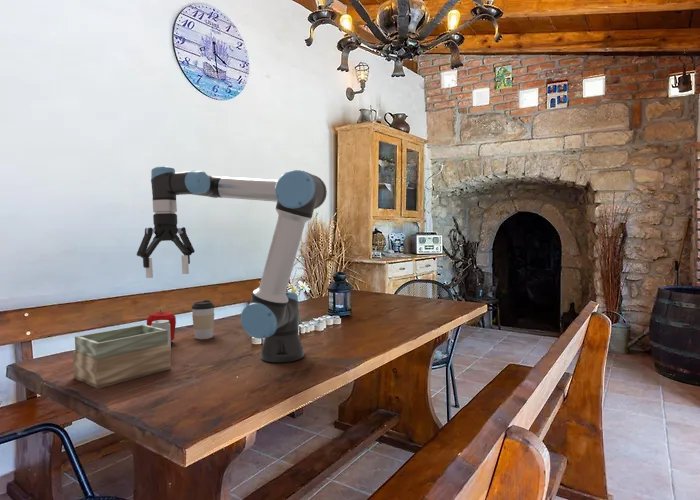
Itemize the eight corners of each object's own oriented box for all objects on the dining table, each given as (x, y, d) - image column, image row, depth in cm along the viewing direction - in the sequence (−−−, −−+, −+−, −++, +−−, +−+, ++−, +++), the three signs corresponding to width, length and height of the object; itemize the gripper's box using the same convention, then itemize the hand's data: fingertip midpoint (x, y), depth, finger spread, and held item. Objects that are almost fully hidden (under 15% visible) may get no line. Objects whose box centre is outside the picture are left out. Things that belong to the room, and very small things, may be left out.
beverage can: (155, 352, 162) (154, 319, 161) (173, 352, 162) (172, 319, 162) (148, 357, 155) (147, 323, 155) (167, 356, 156) (166, 322, 156)
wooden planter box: (171, 369, 142) (169, 329, 141) (97, 388, 125) (95, 344, 124) (145, 360, 152) (144, 324, 151) (73, 377, 134) (72, 336, 134)
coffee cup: (208, 341, 178) (207, 303, 178) (187, 340, 180) (186, 303, 179) (219, 335, 187) (218, 300, 186) (199, 335, 189) (198, 299, 188)
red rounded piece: (158, 349, 166) (156, 313, 166) (141, 346, 172) (140, 310, 171) (182, 343, 175) (181, 308, 175) (165, 340, 181) (164, 306, 180)
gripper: (190, 214, 164) (192, 272, 165) (122, 213, 144) (126, 279, 145) (202, 213, 160) (205, 272, 161) (135, 211, 140) (139, 279, 140)
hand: (168, 275), depth 153 cm, fingers open, 13 cm apart
